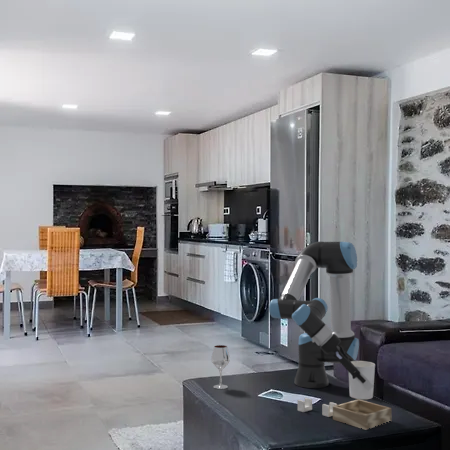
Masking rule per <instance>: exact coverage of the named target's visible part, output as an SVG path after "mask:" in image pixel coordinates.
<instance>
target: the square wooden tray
mask: <svg viewBox="0 0 450 450" xmlns="http://www.w3.org/2000/svg"><path fill="white" fill-rule="evenodd" d="M332 420H334V421H335V422H336V421H337V422H340V423H343V424H345V423H346V425H349V426H352V427H355V428H359V429H361V428H362V429H361V430H366V431H367V430H370V429H372V428H376V427H378V425H379V426H382V425H384V424H383V423H385V424H387V423H386V422H388V423H390V422H389V421H391V422H392V407H389V406H385V405H381V404H378V403H375V402H370V401H368V400H364V399H355V400H351V401H348V402H344V403H341V404H340V403H339V404H337V405H336V406H333V416H332ZM381 424H382V425H381ZM375 426H376V427H375ZM369 428H370V429H369Z"/></svg>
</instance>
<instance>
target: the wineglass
mask: <svg viewBox="0 0 450 450" xmlns="http://www.w3.org/2000/svg"><path fill="white" fill-rule="evenodd" d="M230 362H231V357H230V351H229V349H228V345H223V344H222V345H221V344H218V345H214V347H213V350H212V354H211V363H212V364H213V366H214V367H216V368H217V369H218V371H219V384H215V385H213V388H214V389H216V390H225V389H228V387H229V386H228V385H226V384H223V383H222V381H223V380H222V378H223V377H222V374H223V373H222V371H223V369H225V368H226V367H227V366H229V365H228V364H230Z"/></svg>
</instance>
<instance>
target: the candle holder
mask: <svg viewBox="0 0 450 450" xmlns="http://www.w3.org/2000/svg"><path fill="white" fill-rule="evenodd" d="M351 363H352V364H353V365H354V366H355V367H356V368H357V370H358V371H359V372H361V373H362V374H363V375H364V376H365V377H366V378H367V379H368V380H369V381H370V382H371V383H372V384H373V385H374V386H375V384H374V383H375V370H376V369H375V368H376V364H375V363H374V362H372V361H366V360H356V361H351ZM347 371H348V370H347ZM355 372H356V371H355ZM355 372H354V373H355ZM347 373H348V387H349V388H348V389H349V391H348V392H349V397H351V398H352V399H355V400H357V399H360V400H372V399H373V397H374V388H375V387H372V388H371V389H370V390H369V391H368V390H367V389H366V388H365V387H364V386H363V385H362V384H361V383H360V382H359V381H358V380H357V379H356V378H355V379H353V378H352V377H353V376H352V375H351V374H350V373H349V371H348V372H347Z"/></svg>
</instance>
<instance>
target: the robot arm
mask: <svg viewBox="0 0 450 450" xmlns="http://www.w3.org/2000/svg"><path fill="white" fill-rule="evenodd" d="M294 264H295V265H294V268H293V270H292V272H291V273H290V275H289V278H288V280H287V283H286V284H285V286H284V289H283V290H282V292H281V294H280V296H279V298H273V299H271V300H270V302H269V305H268V307H269V308H268V310H269V316H270V317H271V318H274V319H279V320H282V319H283V320H293V321H294V322H295V323H296V325H297V326H298V327H299V328H300V329H301V330H302V331H304V333H301V334H300V335H299V336H298V343H297V345H298V346H297V347H298V349H297V350H298V368H297V371H296V374H295V377H294V384H295V385H296V386H298V387H301V388H306V389H307V388H308V389H320V388H325V387H327V386H329V377H328V375H327V371H326V368H325V367H326V366H325V363H328V364H329V363H331V364H340V365H342V366H343V367H344V368H345V369H346V371H349V373H350V374H351V375H352V376H353V377H352V378H353V379H355V378H356V379H357V380H358V381H359V382H360V383H361V384H362V385H363V386H364V387H365V388H366V389H367V390H368V391H369V390H370V389H371V388H372V387H374V386H375V384H374V385H373V384H372V383H371V382H370V381H369V380H368V379H367V378H366V377H365V376H364V375H363V374H362V373H361V372H359V371H358V370H357V368H356V367H355V366H354V365H353V364H352V363H351V361H357V357H358V355H359V346H360V341H359V338H357V337H356V336H355V332H354V331H353V330H352V326H351V325H352V324H351V323H352V321H351V320H352V319H351V318H352V317H351V314H352V313H351V281H350V280H351V279H350V278H351V276H352V274H353V273H354V270H355V269H357V267H358V255H357V249H356V248H355V245H354V244H353V243H352V242H349V241H315V242H313V243H310V244H309V245H306V246H305V247H304V248H303V249H302V250H301V251H300V252H298V255H297V256H296V258H295V259H294ZM316 269H325V271H326V272H325V273H326V275H328V276H329V292H330V293H329V295H330V297H329V299H330V303H329V304H330V327H329V326H328V325H327V324H326V323H324V321H323V318H324V317H326V315H327V311H328V308H329V307H328V304H327V302H326V301H325V300H324V299H323V298H320V297H315V298H313V299H311V300H300V298H301V297H302V294H303V293H304V290H305V288H306V285H307V283H308V281H309V278H310V276H311V274H313V273H314V272H315V271H316ZM355 371H356V372H355ZM354 372H355V373H354ZM374 388H375V387H374Z"/></svg>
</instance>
